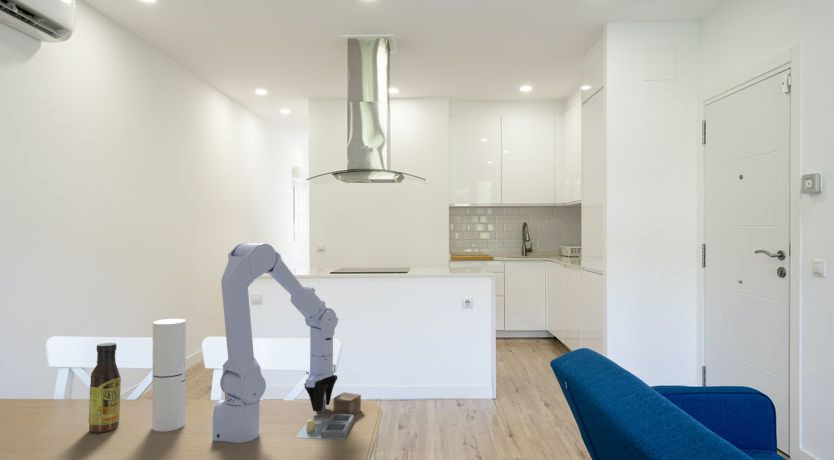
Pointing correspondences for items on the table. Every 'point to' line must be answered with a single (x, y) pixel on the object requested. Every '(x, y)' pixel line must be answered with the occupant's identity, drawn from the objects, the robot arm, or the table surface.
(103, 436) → the table surface
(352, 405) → the wooden toy block
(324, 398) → the pin
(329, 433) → the board
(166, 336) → the cylindrical container
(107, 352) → the sauce bottle
